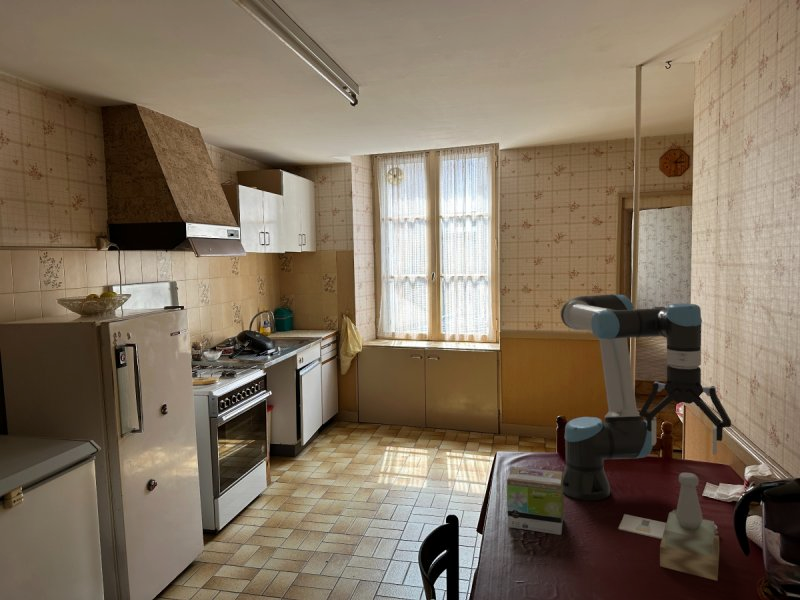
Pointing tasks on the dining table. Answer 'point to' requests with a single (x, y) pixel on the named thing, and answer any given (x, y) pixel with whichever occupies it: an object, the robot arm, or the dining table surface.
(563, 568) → the dining table surface
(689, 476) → the salt shaker
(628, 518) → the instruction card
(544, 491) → the tea box
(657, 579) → the dining table surface
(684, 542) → the zigzag patterned box
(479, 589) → the dining table surface
